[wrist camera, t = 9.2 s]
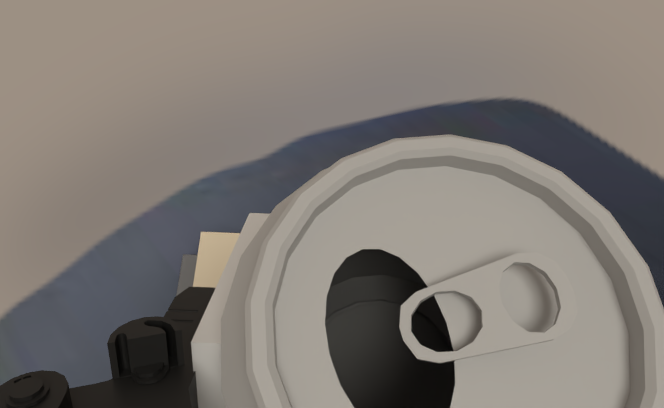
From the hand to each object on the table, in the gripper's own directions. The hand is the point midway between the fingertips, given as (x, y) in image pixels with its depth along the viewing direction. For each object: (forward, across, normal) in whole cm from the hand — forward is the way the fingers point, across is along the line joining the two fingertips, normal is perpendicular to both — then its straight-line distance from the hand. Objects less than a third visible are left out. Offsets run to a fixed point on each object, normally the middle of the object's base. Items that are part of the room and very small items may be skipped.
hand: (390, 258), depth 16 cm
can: (0, 0, -5) cm, 5 cm away
